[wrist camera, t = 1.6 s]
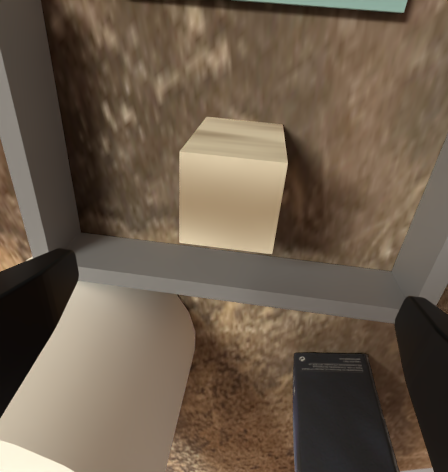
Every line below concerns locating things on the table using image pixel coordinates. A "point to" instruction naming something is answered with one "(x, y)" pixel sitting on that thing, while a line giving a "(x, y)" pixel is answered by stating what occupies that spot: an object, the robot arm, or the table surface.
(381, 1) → the teal mat
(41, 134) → the grey l-shaped bracket
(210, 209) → the cream block
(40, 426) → the cylinder
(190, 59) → the table surface
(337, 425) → the small box
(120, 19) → the table surface
